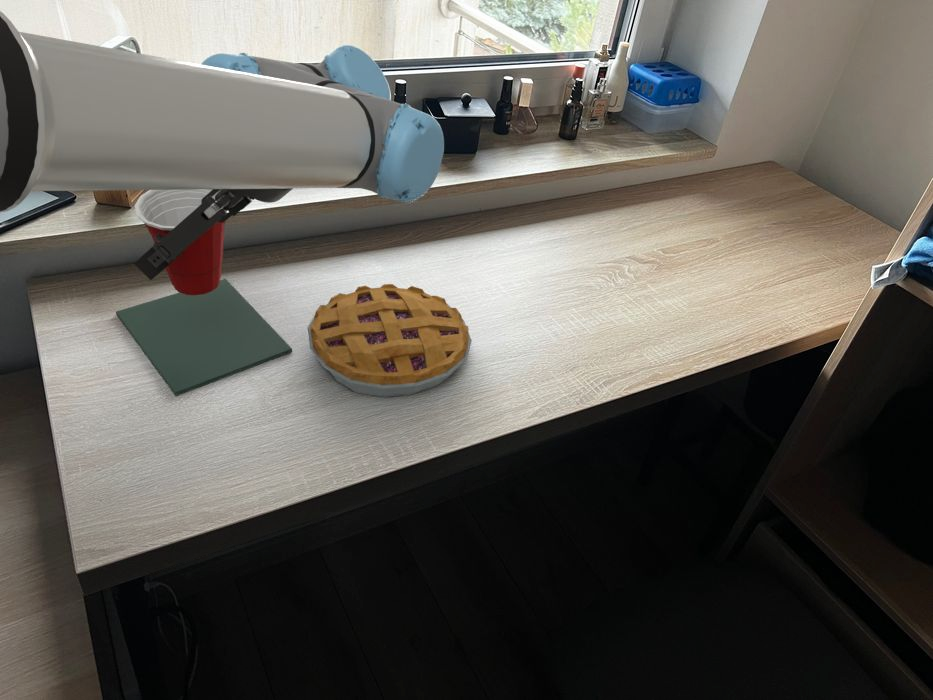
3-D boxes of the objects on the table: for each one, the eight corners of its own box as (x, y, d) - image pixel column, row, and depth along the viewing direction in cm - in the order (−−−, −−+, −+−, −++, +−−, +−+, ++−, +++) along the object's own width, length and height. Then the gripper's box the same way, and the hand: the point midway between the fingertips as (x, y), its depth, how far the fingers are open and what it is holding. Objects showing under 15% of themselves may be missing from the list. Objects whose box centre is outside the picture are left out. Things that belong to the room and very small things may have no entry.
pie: (434, 296, 111) (437, 268, 108) (494, 386, 96) (498, 357, 93) (292, 318, 103) (290, 289, 100) (332, 421, 88) (331, 390, 85)
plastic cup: (134, 299, 90) (114, 212, 82) (176, 256, 98) (162, 174, 91) (217, 314, 89) (205, 228, 82) (252, 270, 97) (244, 188, 90)
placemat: (175, 396, 89) (174, 392, 88) (116, 314, 100) (115, 311, 99) (292, 352, 97) (292, 348, 97) (225, 281, 109) (225, 278, 108)
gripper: (249, 229, 72) (137, 320, 84) (338, 147, 89) (235, 232, 101) (194, 168, 69) (86, 271, 81) (296, 96, 87) (195, 190, 99)
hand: (169, 250), depth 91 cm, fingers closed on plastic cup, 10 cm apart
